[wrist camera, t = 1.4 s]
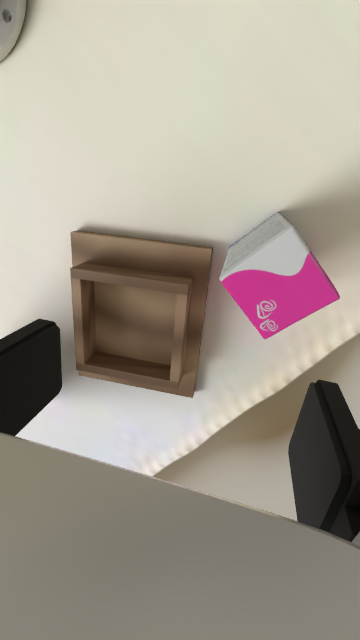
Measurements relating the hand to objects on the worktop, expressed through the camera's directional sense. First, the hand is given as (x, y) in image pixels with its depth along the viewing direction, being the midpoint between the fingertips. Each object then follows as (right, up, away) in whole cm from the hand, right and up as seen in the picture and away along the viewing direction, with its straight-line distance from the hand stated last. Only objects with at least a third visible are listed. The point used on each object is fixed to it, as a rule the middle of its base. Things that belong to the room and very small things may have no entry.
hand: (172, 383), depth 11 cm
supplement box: (+9, +9, +19) cm, 23 cm away
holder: (-4, +3, +24) cm, 25 cm away
